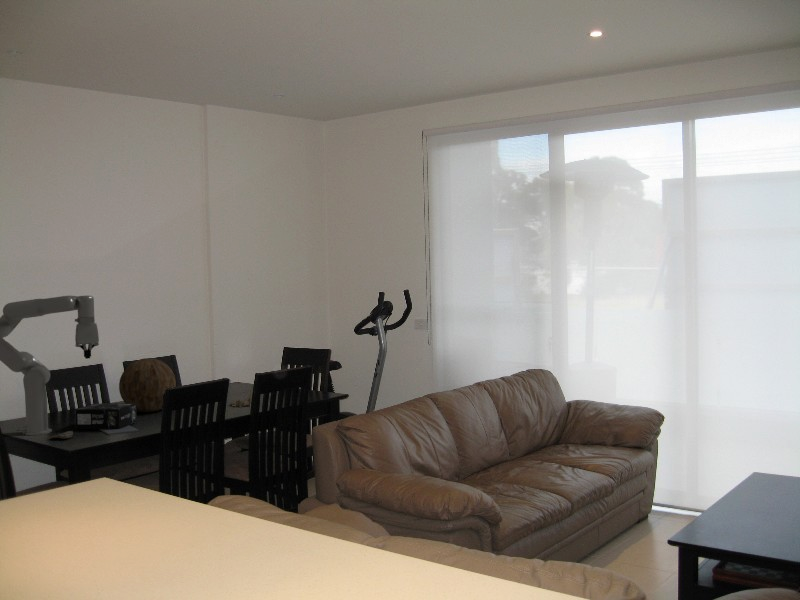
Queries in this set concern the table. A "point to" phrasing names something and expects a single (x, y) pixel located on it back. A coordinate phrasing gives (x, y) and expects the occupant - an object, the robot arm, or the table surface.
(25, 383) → the robot arm
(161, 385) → the decorative sphere
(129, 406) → the box
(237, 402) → the dollhouse furniture set
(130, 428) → the mat
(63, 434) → the ceramic fragment
